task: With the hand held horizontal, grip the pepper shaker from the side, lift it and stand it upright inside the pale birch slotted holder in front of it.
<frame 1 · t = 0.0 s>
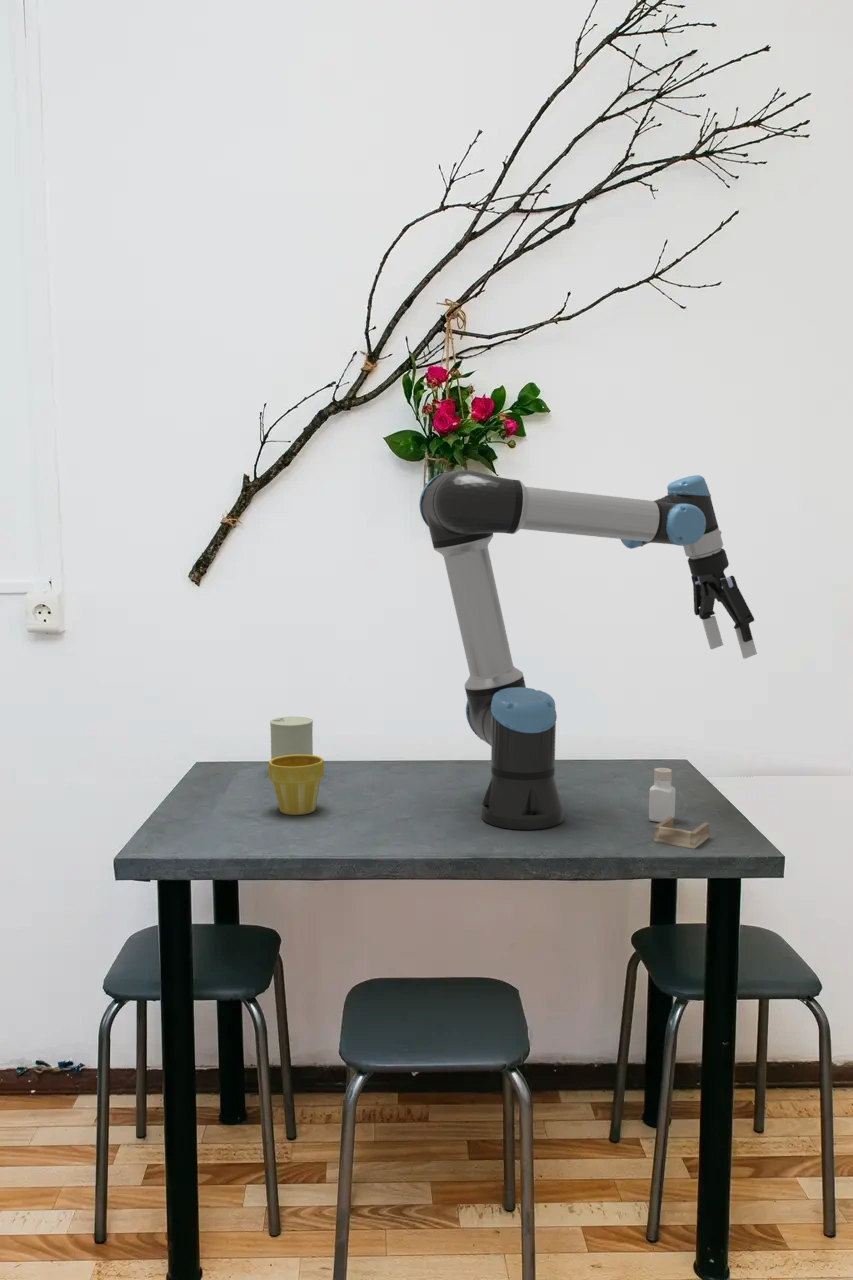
hand: (733, 651, 217), 28 cm above the table, tool tilted 20°, fingers open, 13 cm apart
can: (292, 774, 229), on the table
plant pot: (297, 811, 202), on the table
holder: (681, 839, 184), on the table
pepper shaker: (661, 821, 196), on the table
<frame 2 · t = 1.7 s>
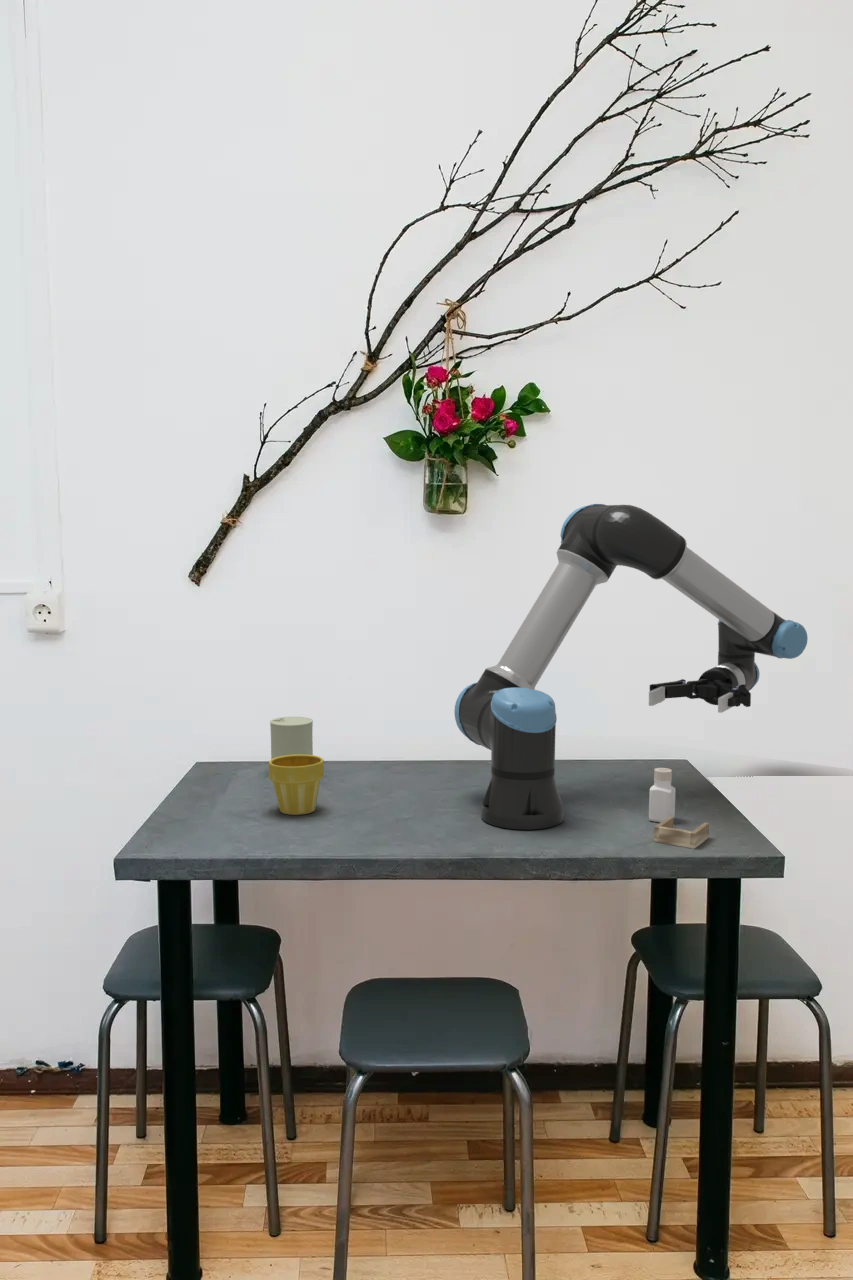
hand: (684, 702, 202), 20 cm above the table, tool horizontal, fingers open, 13 cm apart
nothing on the table moved.
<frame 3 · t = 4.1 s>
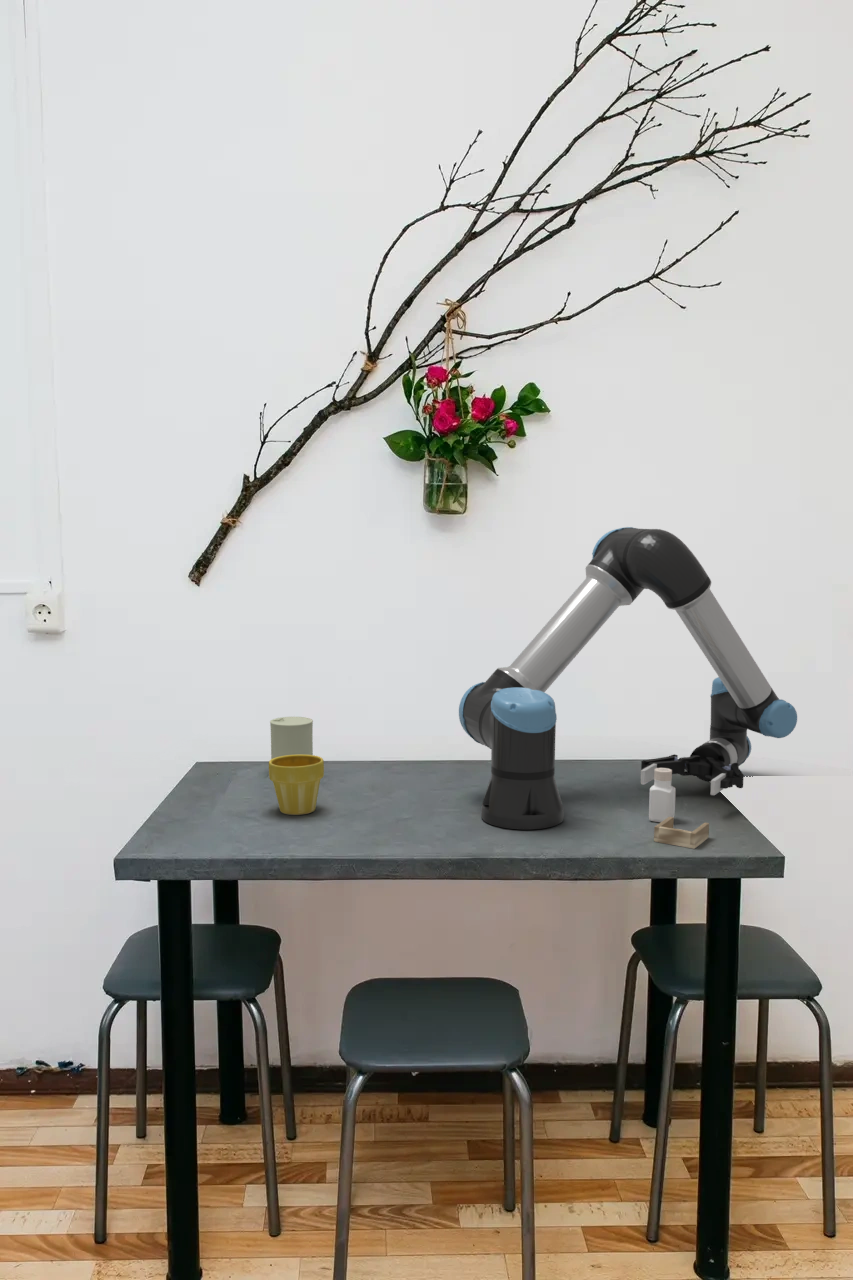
hand: (676, 782, 200), 6 cm above the table, tool horizontal, fingers open, 13 cm apart
nothing on the table moved.
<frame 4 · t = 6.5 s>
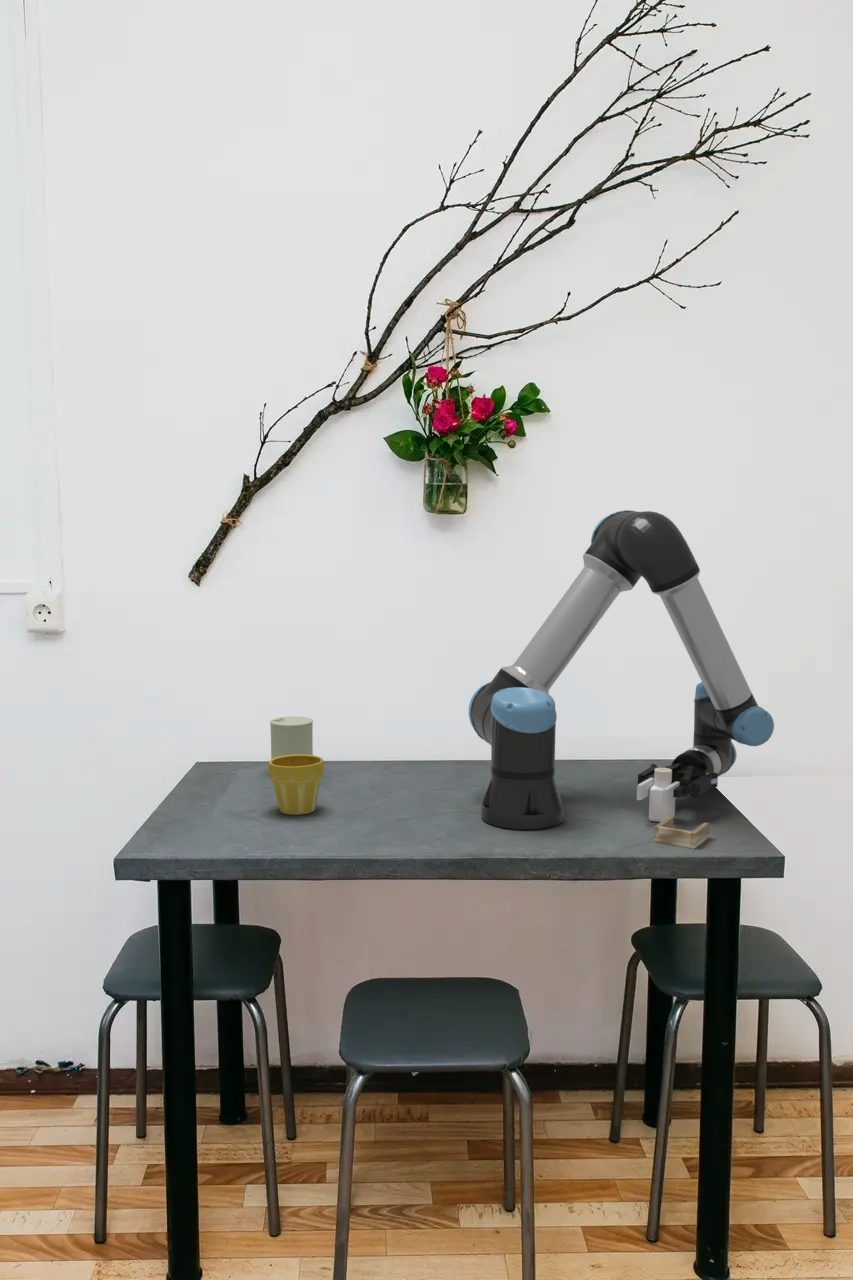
hand: (651, 794, 190), 6 cm above the table, tool horizontal, fingers closed on pepper shaker, 4 cm apart
pepper shaker: (661, 821, 196), on the table, touching gripper
everything else where it was.
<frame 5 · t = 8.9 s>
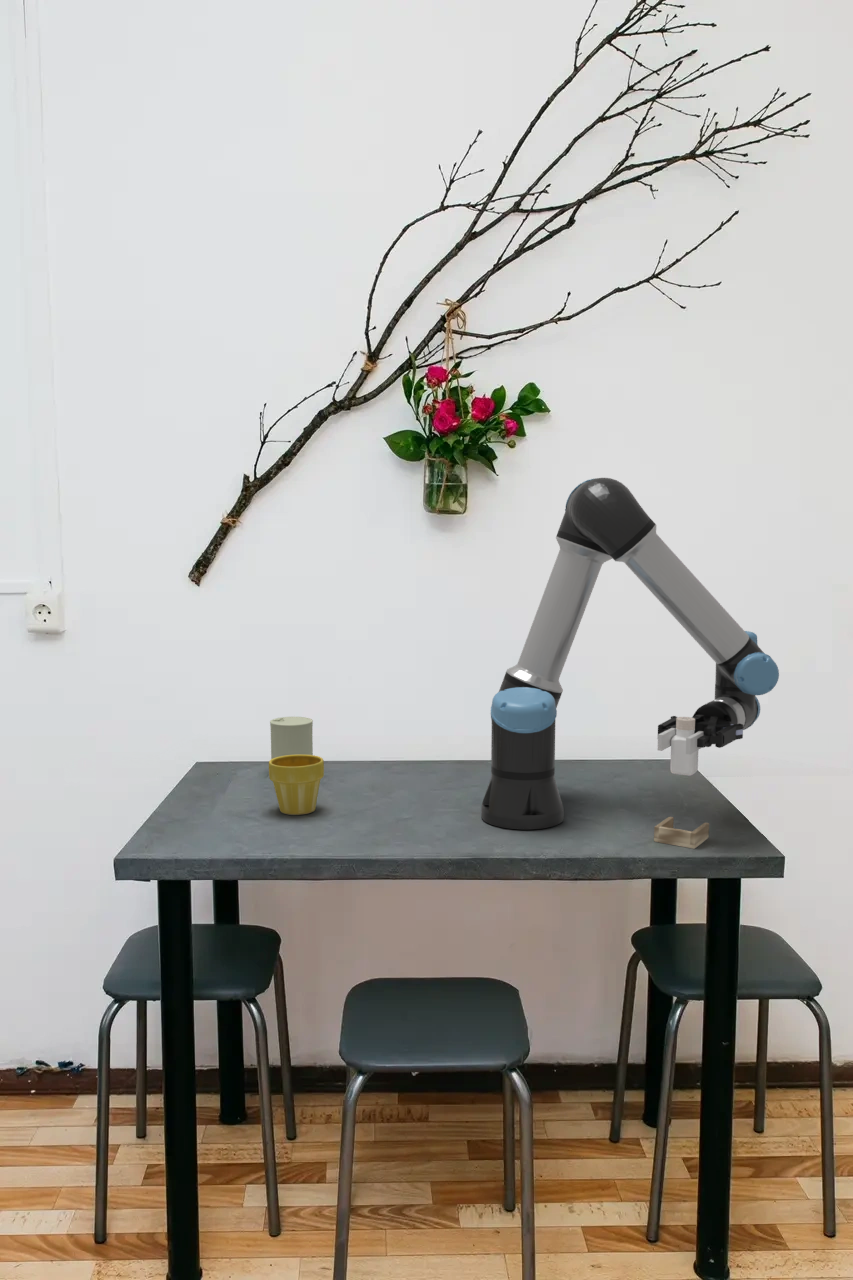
hand: (674, 744, 178), 18 cm above the table, tool horizontal, fingers closed on pepper shaker, 4 cm apart
pepper shaker: (683, 774, 183), point 12 cm above the table, touching gripper
everything else where it was.
when the fingers open (8 cm above the table, at t = 11.3 s): pepper shaker drops 2 cm, resting on holder.
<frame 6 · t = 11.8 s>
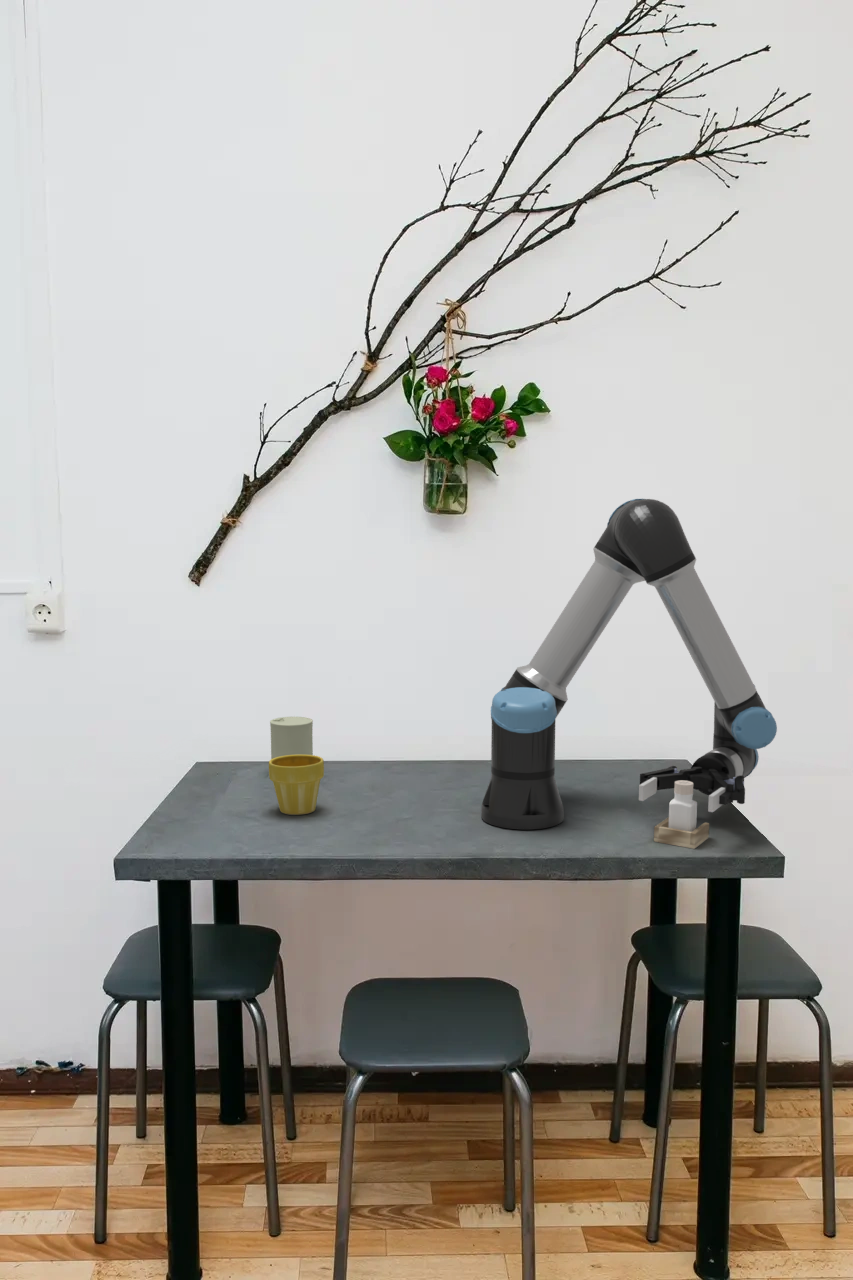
hand: (675, 798, 180), 8 cm above the table, tool horizontal, fingers open, 11 cm apart
pepper shaker: (681, 837, 184), resting on holder
everything else where it was.
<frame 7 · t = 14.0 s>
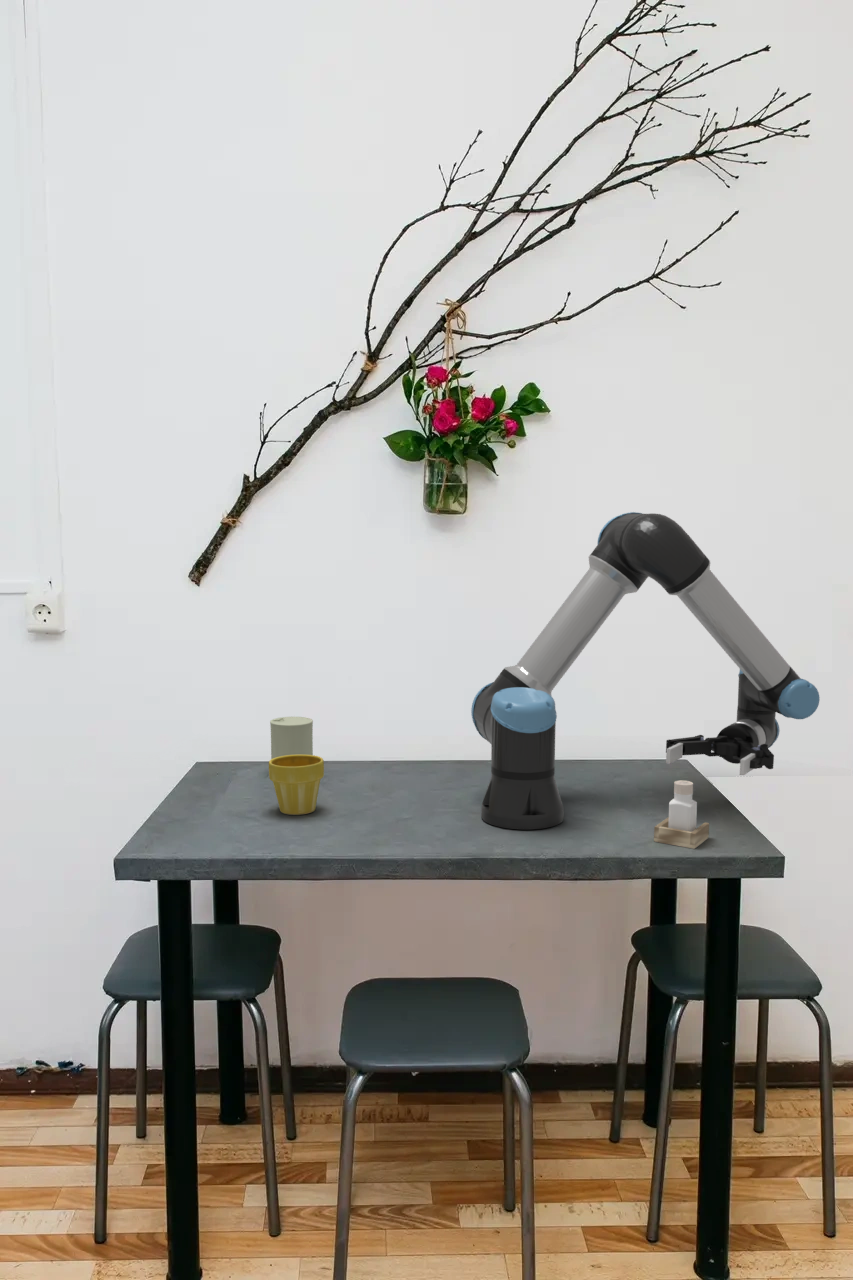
hand: (704, 761, 192), 12 cm above the table, tool horizontal, fingers open, 13 cm apart
nothing on the table moved.
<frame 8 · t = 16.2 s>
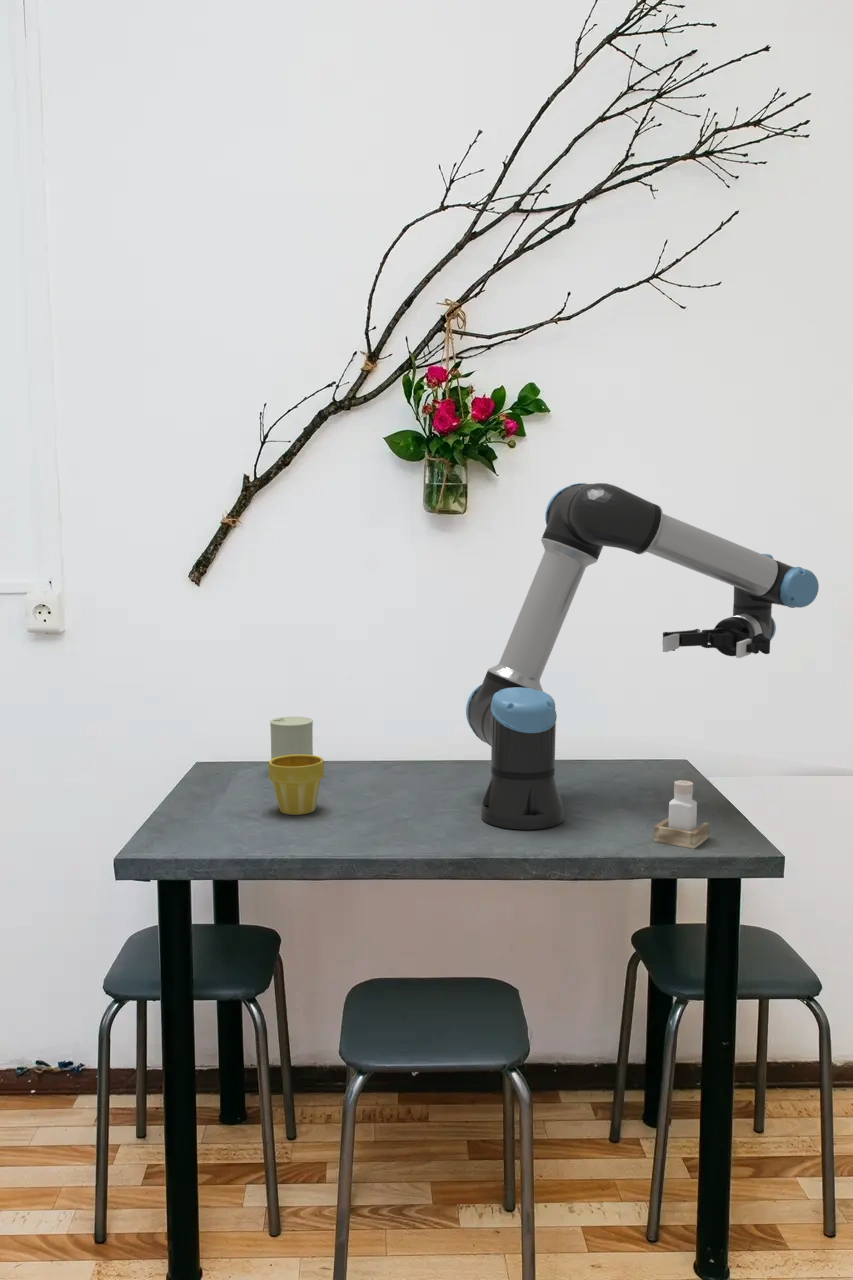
hand: (700, 647, 192), 32 cm above the table, tool horizontal, fingers open, 13 cm apart
nothing on the table moved.
at the end: pepper shaker 0.1 cm off-centre on the holder, point 0.4 cm above the holder's base; pepper shaker tilted 0°; the gripper is holding nothing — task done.
